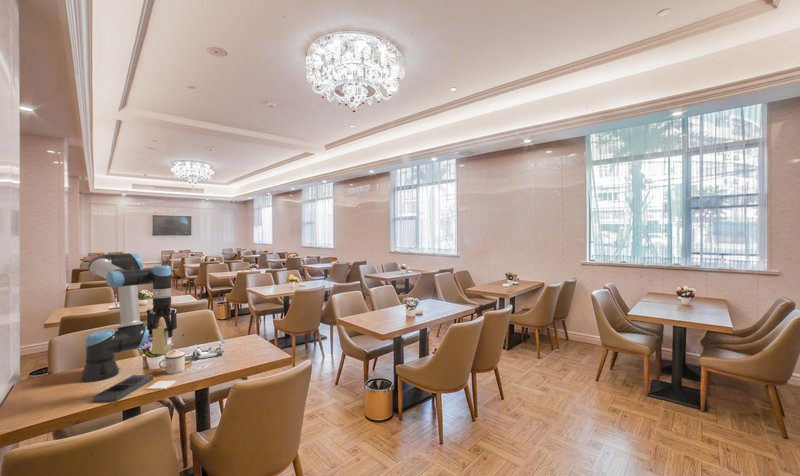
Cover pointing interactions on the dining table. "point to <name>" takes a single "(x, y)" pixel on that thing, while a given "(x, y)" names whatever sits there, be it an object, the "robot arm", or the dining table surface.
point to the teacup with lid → (174, 362)
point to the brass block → (160, 341)
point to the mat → (161, 385)
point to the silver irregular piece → (208, 352)
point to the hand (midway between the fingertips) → (162, 344)
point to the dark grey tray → (122, 388)
